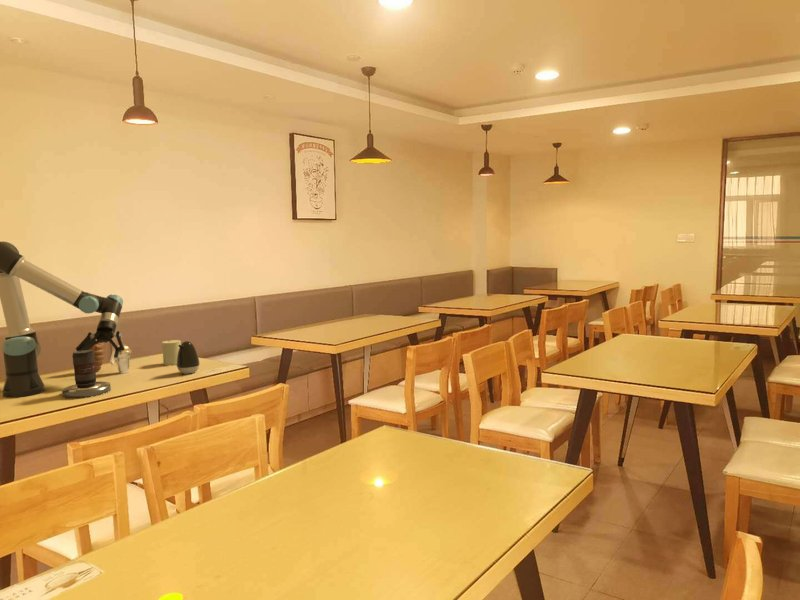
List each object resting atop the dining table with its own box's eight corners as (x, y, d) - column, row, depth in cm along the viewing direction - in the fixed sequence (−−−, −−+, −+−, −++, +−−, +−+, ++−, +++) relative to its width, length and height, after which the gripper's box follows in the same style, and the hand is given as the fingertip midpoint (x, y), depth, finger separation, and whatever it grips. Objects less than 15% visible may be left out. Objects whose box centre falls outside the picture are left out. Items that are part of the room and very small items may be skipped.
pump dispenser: (172, 374, 277) (169, 342, 275) (186, 369, 287) (184, 339, 285) (190, 375, 274) (188, 343, 272) (204, 370, 284) (202, 339, 282)
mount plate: (58, 400, 238) (57, 393, 237) (67, 390, 255) (66, 383, 254) (107, 395, 243) (106, 388, 243) (113, 385, 260) (112, 378, 260)
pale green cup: (178, 360, 310) (177, 338, 308) (185, 363, 303) (183, 340, 301) (160, 363, 304) (159, 340, 303) (166, 366, 297) (165, 342, 296)
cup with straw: (124, 375, 281) (120, 333, 278) (109, 374, 283) (105, 332, 281) (137, 370, 289) (134, 330, 286) (122, 370, 291) (119, 330, 289)
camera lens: (101, 383, 252) (98, 349, 251) (89, 388, 244) (86, 353, 243) (83, 384, 253) (80, 349, 251) (71, 388, 245) (67, 353, 243)
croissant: (92, 374, 285) (89, 337, 283) (83, 372, 289) (80, 336, 287) (109, 370, 292) (106, 334, 290) (100, 369, 296) (97, 333, 294)
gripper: (138, 328, 274) (127, 367, 261) (83, 330, 273) (69, 369, 260) (132, 318, 268) (121, 357, 255) (76, 321, 267) (62, 360, 254)
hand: (95, 364), depth 257 cm, fingers open, 13 cm apart
